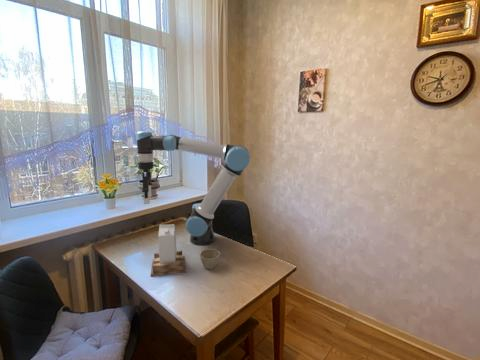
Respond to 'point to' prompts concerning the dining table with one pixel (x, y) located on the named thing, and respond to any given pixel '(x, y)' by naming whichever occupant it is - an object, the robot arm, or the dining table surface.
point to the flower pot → (210, 258)
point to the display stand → (168, 265)
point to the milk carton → (167, 244)
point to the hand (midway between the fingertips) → (147, 200)
